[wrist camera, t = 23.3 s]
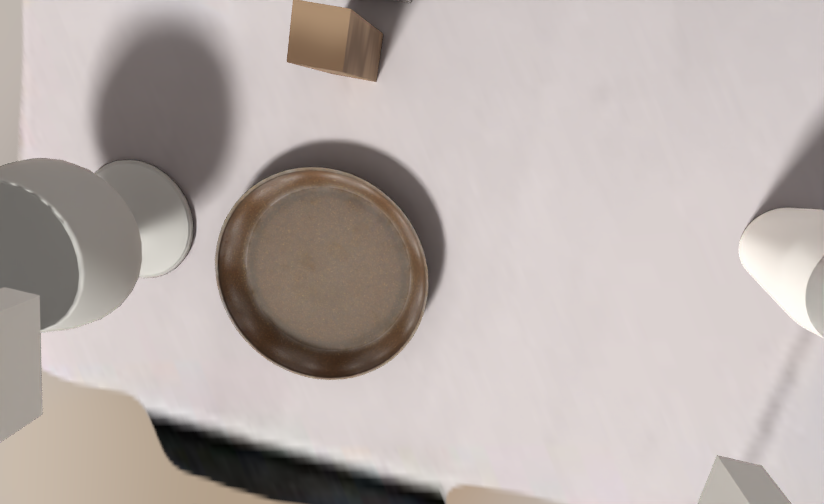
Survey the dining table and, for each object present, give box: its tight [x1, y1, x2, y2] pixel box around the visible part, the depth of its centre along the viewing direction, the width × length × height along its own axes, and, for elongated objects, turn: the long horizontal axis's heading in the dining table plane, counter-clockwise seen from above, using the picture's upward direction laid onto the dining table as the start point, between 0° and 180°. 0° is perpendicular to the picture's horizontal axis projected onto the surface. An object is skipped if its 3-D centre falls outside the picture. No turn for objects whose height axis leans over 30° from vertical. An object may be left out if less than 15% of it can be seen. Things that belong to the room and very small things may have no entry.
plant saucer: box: [215, 167, 428, 380], centre depth 50 cm, size 21×21×3 cm
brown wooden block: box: [287, 0, 383, 82], centre depth 40 cm, size 4×4×11 cm
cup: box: [739, 208, 824, 338], centre depth 39 cm, size 9×9×12 cm
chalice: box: [0, 158, 193, 333], centre depth 45 cm, size 14×14×15 cm
